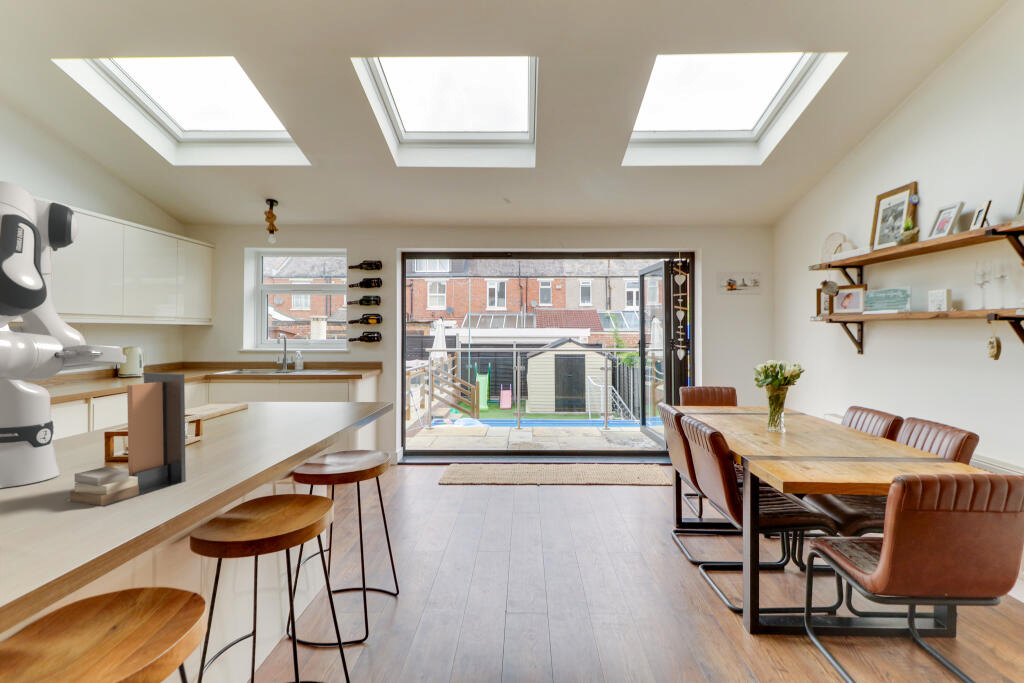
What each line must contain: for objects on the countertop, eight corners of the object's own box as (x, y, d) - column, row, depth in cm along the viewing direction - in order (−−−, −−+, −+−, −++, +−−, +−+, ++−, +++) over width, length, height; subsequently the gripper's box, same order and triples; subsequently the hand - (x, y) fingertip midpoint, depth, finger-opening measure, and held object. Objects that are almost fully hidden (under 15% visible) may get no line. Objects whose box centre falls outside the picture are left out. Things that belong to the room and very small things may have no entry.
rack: (104, 513, 102) (102, 381, 101) (65, 507, 106) (63, 379, 105) (185, 487, 119) (184, 374, 118) (149, 482, 123) (148, 372, 122)
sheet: (133, 489, 113) (132, 385, 112) (128, 489, 113) (127, 385, 112) (163, 481, 119) (162, 382, 119) (158, 480, 120) (157, 382, 119)
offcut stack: (101, 505, 102) (101, 479, 102) (70, 500, 105) (69, 474, 105) (139, 493, 110) (139, 469, 110) (109, 489, 113) (109, 465, 113)
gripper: (82, 335, 93) (146, 342, 107) (-9, 346, 96) (64, 352, 109) (82, 368, 92) (146, 371, 106) (-10, 378, 95) (64, 380, 108)
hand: (104, 361), depth 108 cm, fingers open, 8 cm apart
